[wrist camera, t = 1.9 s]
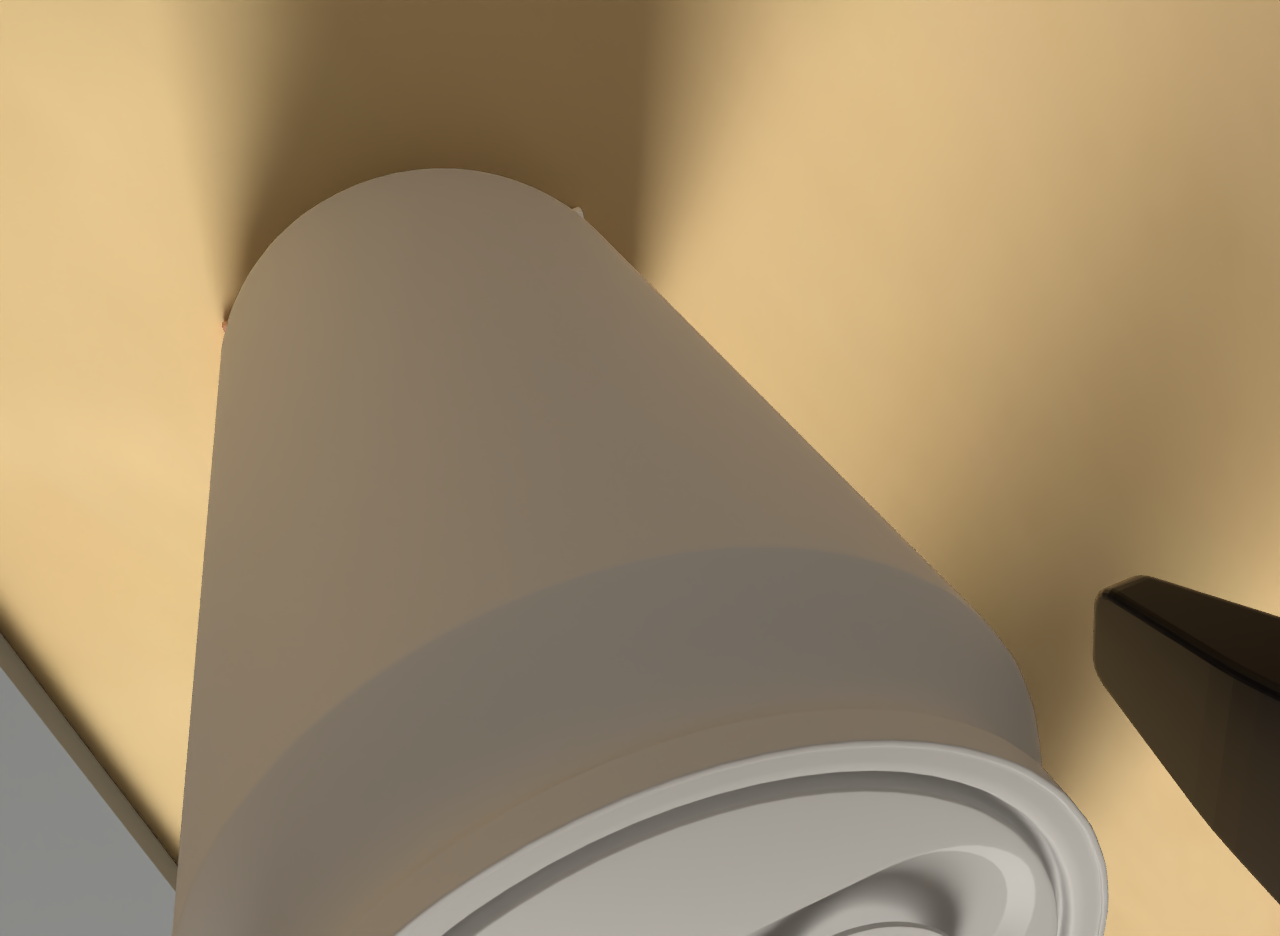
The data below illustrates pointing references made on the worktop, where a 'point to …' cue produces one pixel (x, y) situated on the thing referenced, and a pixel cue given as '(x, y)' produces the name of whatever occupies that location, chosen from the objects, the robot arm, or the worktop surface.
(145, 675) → the worktop surface
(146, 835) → the slate mat
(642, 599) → the beverage can
